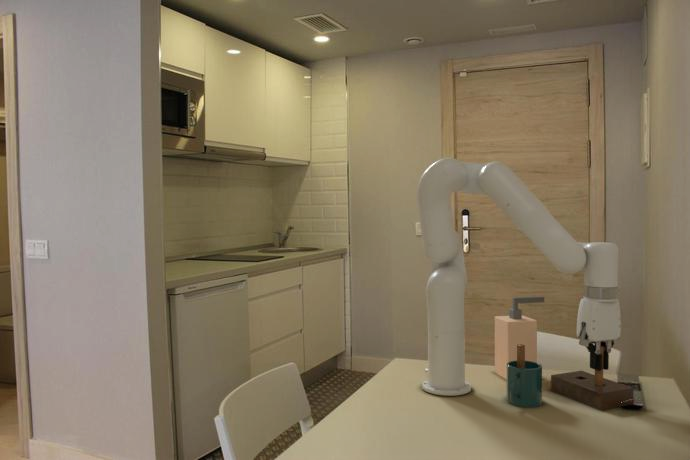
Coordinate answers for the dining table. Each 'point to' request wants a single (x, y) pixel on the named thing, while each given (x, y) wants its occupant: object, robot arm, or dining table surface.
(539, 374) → the mug
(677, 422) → the dining table surface
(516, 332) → the soap dispenser
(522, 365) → the stirrer
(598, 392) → the stirrer stand
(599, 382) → the stirrer
